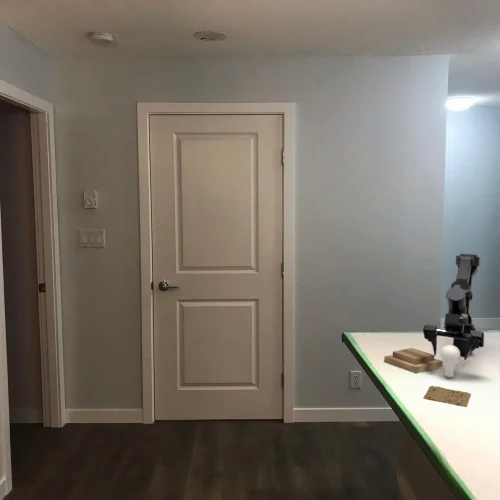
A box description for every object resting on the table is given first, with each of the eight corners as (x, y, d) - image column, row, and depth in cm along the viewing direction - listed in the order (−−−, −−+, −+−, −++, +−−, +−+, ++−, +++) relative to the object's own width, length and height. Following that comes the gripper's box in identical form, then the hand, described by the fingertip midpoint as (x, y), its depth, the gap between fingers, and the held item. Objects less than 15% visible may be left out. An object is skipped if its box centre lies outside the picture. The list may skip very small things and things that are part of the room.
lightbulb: (458, 375, 167) (460, 343, 166) (459, 381, 161) (461, 348, 160) (438, 373, 169) (440, 341, 168) (439, 379, 163) (441, 346, 162)
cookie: (467, 409, 141) (467, 405, 141) (422, 400, 147) (422, 396, 146) (471, 395, 151) (472, 392, 151) (429, 387, 157) (430, 384, 157)
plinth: (410, 356, 188) (410, 345, 188) (442, 366, 176) (443, 355, 176) (384, 361, 181) (384, 350, 180) (416, 373, 169) (416, 361, 168)
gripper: (425, 300, 171) (417, 339, 163) (485, 307, 162) (480, 348, 154) (428, 319, 179) (420, 357, 170) (486, 326, 170) (481, 367, 161)
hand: (449, 357), depth 164 cm, fingers open, 9 cm apart
